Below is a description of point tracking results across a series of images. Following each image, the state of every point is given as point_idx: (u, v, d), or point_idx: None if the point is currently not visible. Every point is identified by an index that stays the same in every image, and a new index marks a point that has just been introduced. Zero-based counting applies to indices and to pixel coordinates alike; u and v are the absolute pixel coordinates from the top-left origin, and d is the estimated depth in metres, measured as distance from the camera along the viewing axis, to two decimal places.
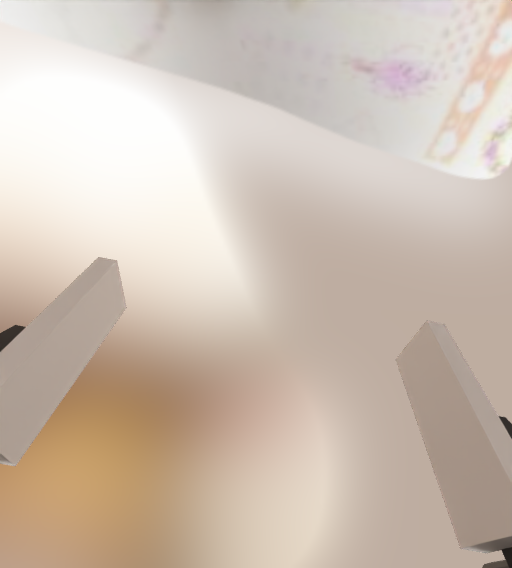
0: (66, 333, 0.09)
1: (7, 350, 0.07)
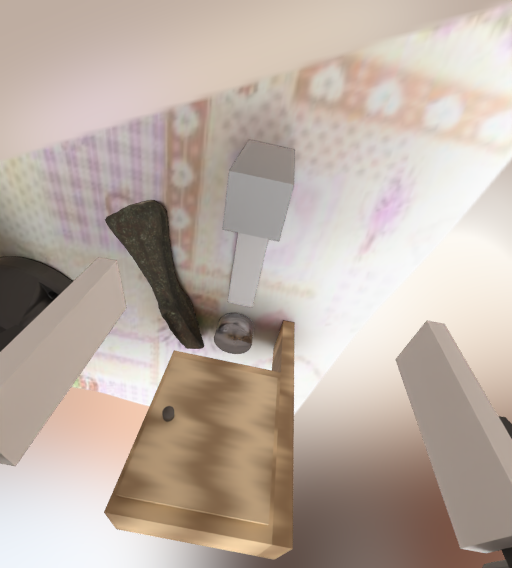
0: (66, 333, 0.09)
1: (7, 350, 0.07)
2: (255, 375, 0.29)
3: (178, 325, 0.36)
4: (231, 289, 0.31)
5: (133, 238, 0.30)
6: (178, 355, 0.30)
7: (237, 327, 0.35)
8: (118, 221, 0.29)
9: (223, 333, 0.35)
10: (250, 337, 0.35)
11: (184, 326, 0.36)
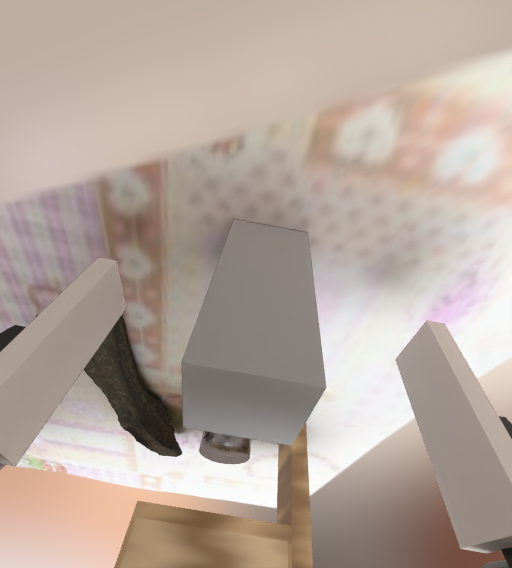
0: (66, 333, 0.09)
1: (7, 350, 0.07)
2: (255, 541, 0.20)
3: (147, 434, 0.28)
4: None
5: None
6: (143, 510, 0.20)
7: (229, 439, 0.26)
8: None
9: (211, 446, 0.26)
10: (247, 449, 0.26)
11: None
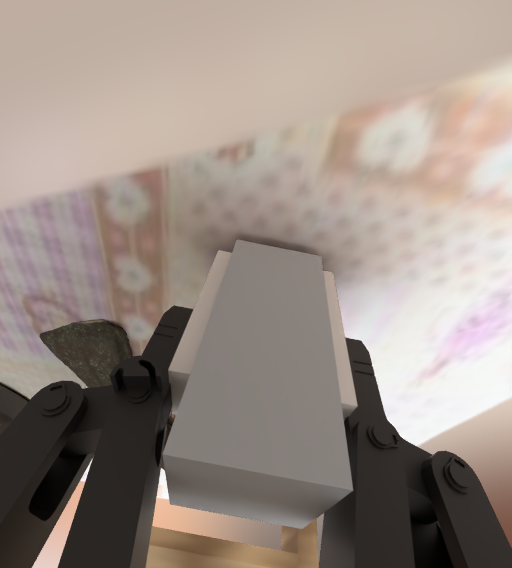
0: None
1: (192, 323, 0.09)
2: None
3: None
4: None
5: (80, 362, 0.21)
6: None
7: None
8: (56, 340, 0.20)
9: None
10: None
11: None
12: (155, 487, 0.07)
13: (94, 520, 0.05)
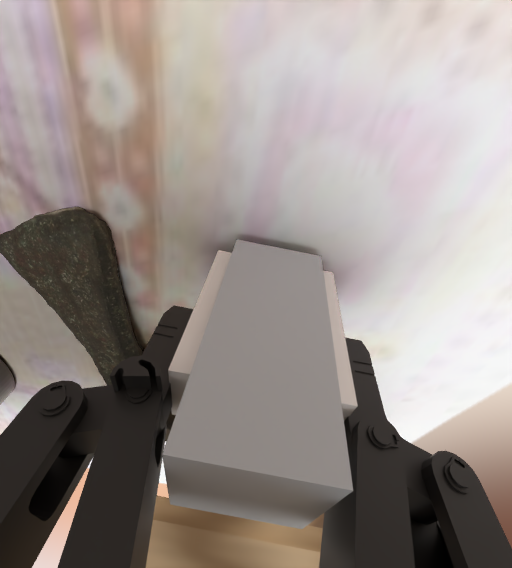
0: None
1: (192, 323, 0.09)
2: (289, 553, 0.13)
3: None
4: None
5: (49, 278, 0.15)
6: None
7: None
8: (16, 246, 0.15)
9: None
10: None
11: None
12: (155, 487, 0.07)
13: (94, 520, 0.05)
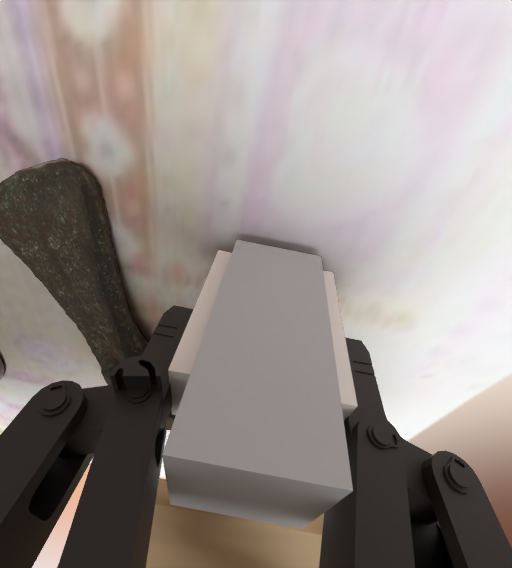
0: None
1: (192, 323, 0.09)
2: (303, 539, 0.11)
3: None
4: None
5: (35, 245, 0.14)
6: None
7: None
8: None
9: None
10: None
11: None
12: (155, 487, 0.07)
13: (94, 520, 0.05)
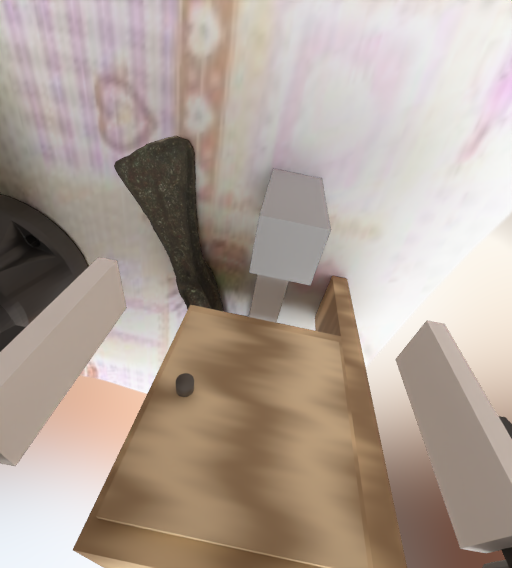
0: (66, 333, 0.09)
1: (7, 350, 0.07)
2: (307, 337, 0.20)
3: None
4: None
5: (149, 189, 0.24)
6: (196, 310, 0.21)
7: None
8: (131, 166, 0.23)
9: None
10: None
11: None
12: None
13: None
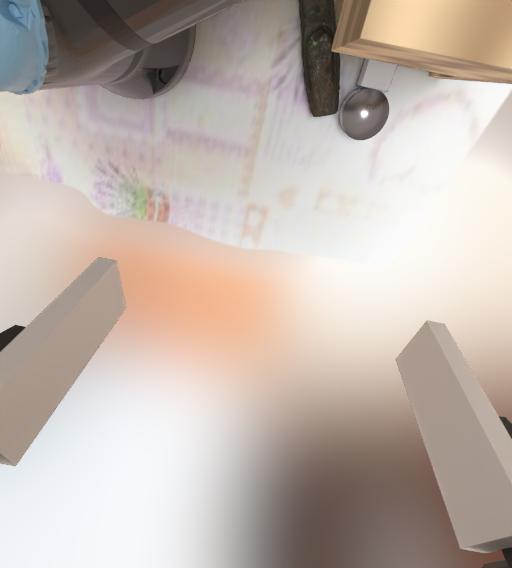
0: (66, 333, 0.09)
1: (7, 350, 0.07)
2: None
3: (315, 68, 0.30)
4: (370, 62, 0.28)
5: None
6: None
7: None
8: None
9: (357, 100, 0.30)
10: None
11: (323, 69, 0.30)
12: None
13: None
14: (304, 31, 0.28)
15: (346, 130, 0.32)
